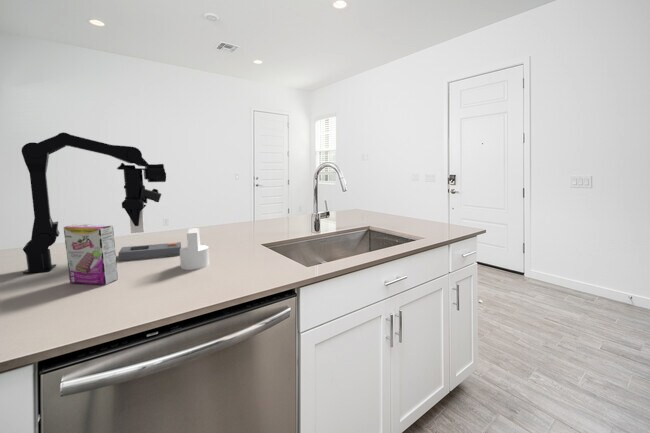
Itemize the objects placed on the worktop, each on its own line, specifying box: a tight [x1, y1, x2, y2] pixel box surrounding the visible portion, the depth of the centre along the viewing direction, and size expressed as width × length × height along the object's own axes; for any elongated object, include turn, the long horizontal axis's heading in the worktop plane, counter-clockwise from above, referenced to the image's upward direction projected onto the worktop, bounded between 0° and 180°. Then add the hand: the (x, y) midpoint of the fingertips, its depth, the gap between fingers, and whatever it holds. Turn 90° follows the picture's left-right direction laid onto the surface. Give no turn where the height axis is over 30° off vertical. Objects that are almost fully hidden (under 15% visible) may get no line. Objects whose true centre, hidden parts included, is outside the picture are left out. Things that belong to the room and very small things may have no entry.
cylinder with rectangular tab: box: [179, 227, 210, 271], centre depth 104 cm, size 9×9×12 cm
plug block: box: [129, 209, 146, 234], centre depth 114 cm, size 4×4×8 cm
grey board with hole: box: [117, 242, 182, 262], centre depth 119 cm, size 9×26×4 cm, turn 116°
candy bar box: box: [63, 223, 119, 286], centre depth 88 cm, size 11×5×16 cm, turn 84°
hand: (137, 225), depth 114 cm, fingers closed on plug block, 4 cm apart
